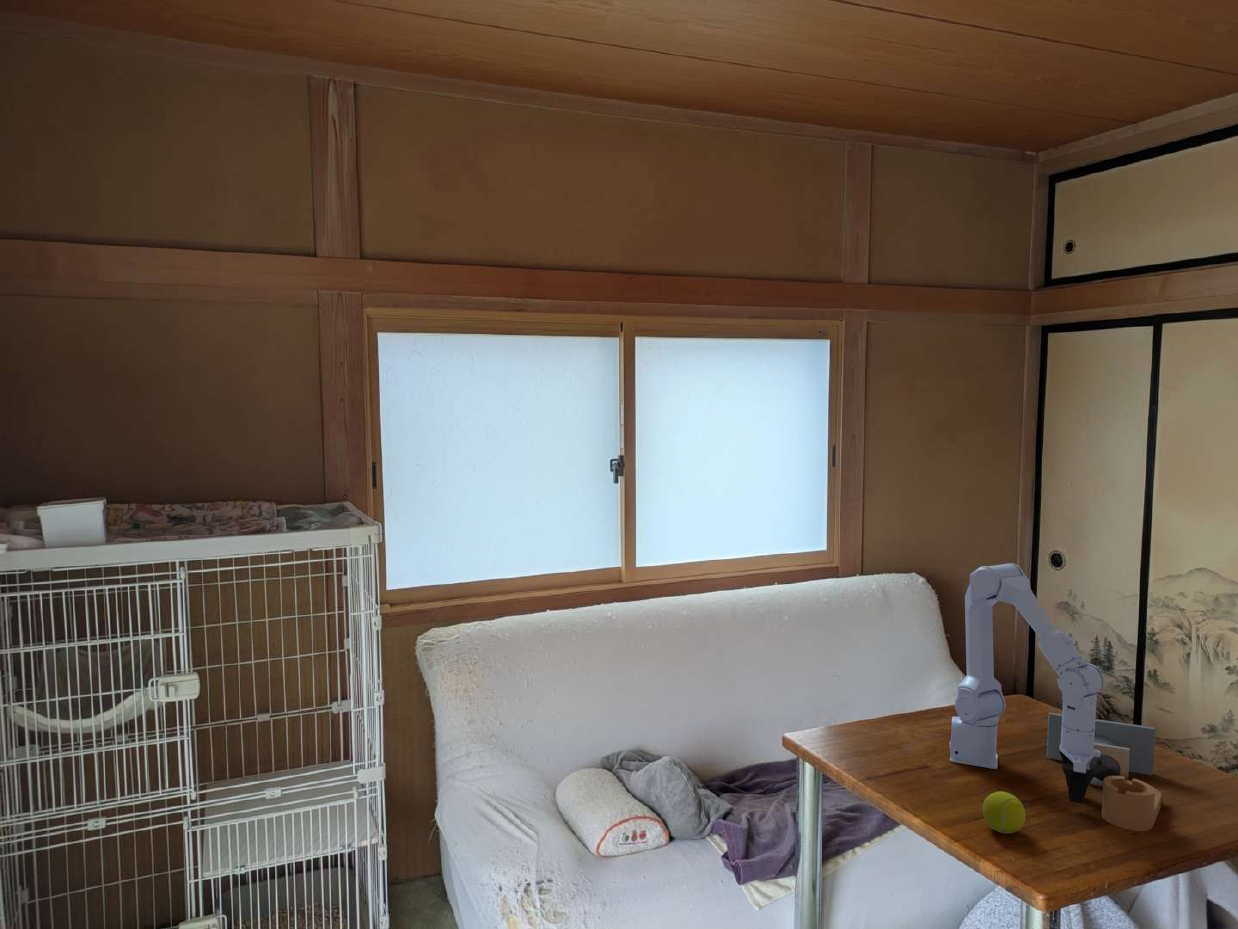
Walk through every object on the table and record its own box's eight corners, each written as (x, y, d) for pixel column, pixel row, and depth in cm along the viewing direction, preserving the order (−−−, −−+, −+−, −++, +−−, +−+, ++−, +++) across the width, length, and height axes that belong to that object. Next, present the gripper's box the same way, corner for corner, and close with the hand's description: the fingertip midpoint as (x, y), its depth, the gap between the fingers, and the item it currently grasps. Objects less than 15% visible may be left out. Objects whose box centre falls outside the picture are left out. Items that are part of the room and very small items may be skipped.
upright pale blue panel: (1049, 777, 178) (1051, 730, 177) (1046, 756, 189) (1048, 712, 188) (1160, 796, 170) (1163, 747, 169) (1151, 773, 180) (1154, 727, 180)
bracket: (1149, 837, 154) (1151, 800, 153) (1097, 822, 159) (1099, 786, 159) (1163, 802, 168) (1165, 768, 167) (1115, 789, 173) (1117, 756, 172)
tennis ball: (1032, 837, 153) (1034, 799, 152) (1002, 843, 150) (1004, 805, 150) (1002, 819, 159) (1004, 783, 159) (973, 825, 157) (975, 788, 156)
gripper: (1105, 743, 158) (1101, 814, 159) (1097, 717, 171) (1093, 783, 172) (1063, 737, 160) (1059, 806, 161) (1058, 712, 174) (1054, 776, 175)
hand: (1074, 793), depth 167 cm, fingers open, 7 cm apart
